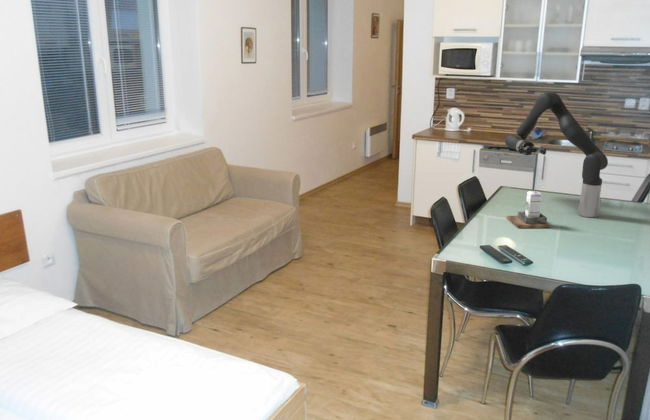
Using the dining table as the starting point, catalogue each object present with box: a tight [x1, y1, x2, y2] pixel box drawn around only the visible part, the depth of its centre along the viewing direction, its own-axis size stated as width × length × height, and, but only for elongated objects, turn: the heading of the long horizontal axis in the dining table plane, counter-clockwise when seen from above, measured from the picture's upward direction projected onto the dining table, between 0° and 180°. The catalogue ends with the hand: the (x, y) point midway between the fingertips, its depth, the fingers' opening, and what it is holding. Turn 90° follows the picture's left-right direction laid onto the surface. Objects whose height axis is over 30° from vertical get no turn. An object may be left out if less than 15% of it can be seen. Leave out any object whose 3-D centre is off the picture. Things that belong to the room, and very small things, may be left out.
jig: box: [506, 211, 551, 229], centre depth 291 cm, size 16×16×4 cm
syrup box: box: [524, 190, 543, 217], centre depth 290 cm, size 6×6×14 cm
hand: (536, 152), depth 305 cm, fingers open, 8 cm apart
